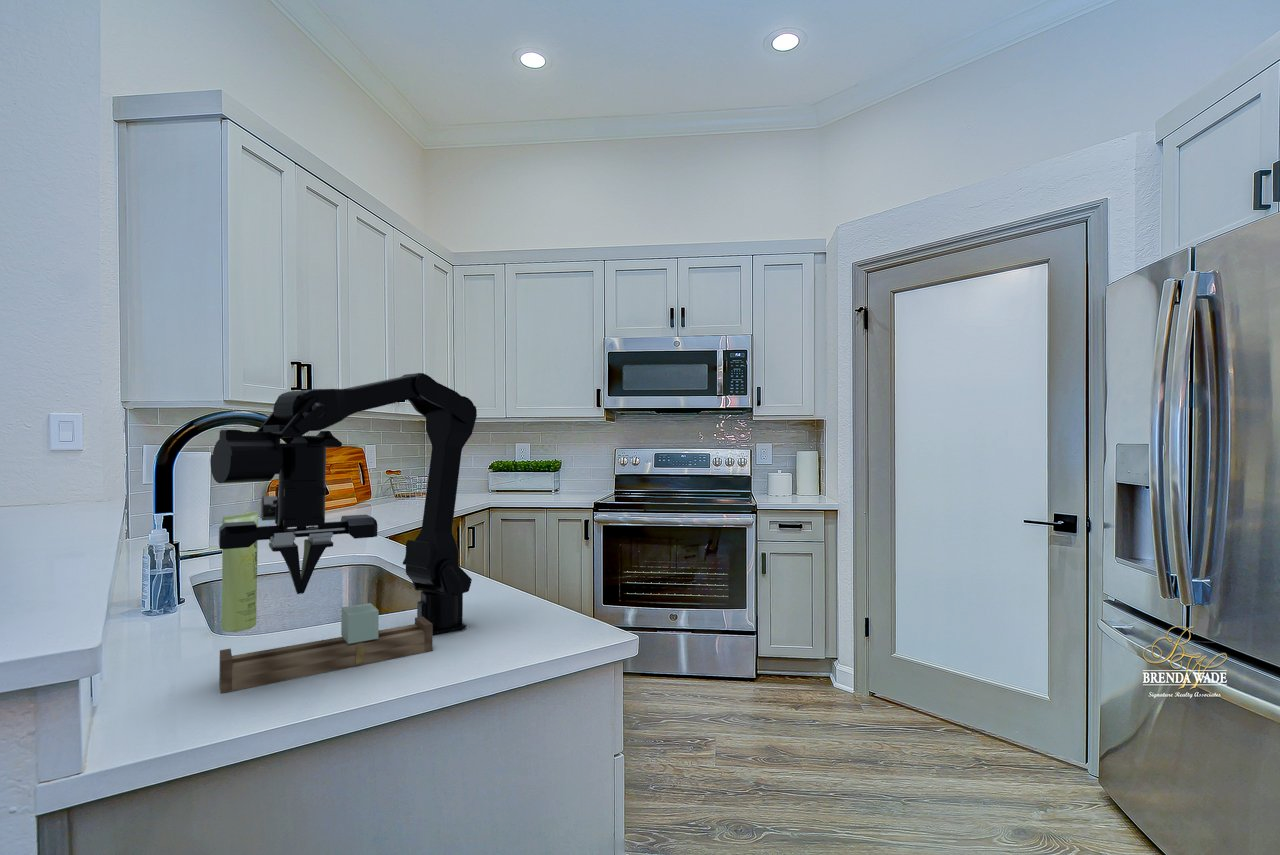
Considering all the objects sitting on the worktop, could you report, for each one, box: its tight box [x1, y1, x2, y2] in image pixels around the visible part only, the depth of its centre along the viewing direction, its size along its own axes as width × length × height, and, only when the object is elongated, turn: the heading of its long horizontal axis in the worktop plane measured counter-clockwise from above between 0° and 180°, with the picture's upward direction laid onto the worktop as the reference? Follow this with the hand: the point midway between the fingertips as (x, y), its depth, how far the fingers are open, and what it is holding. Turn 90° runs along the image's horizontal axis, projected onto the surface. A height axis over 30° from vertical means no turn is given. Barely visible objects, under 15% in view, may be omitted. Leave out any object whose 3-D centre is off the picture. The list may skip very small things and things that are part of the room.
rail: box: [218, 616, 434, 694], centre depth 86 cm, size 26×5×4 cm, turn 126°
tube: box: [221, 510, 259, 633], centre depth 102 cm, size 6×5×20 cm
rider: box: [340, 602, 380, 644], centre depth 88 cm, size 4×5×6 cm
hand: (300, 593), depth 83 cm, fingers closed
